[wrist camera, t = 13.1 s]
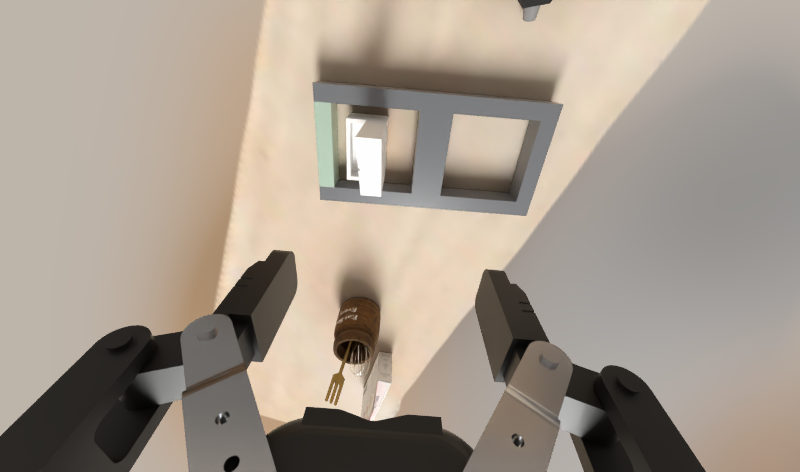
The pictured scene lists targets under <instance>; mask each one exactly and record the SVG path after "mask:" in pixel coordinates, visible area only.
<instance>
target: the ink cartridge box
mask: <svg viewBox="0 0 800 472" xmlns="http://www.w3.org/2000/svg"><path fill="white" fill-rule="evenodd" d="M391 381H392V354H391V353H385V352H379V353H378V356H377V358H376V361H375V363H374V366H373V368H372V371H371V373H370V376H369V378H368V381H367V383H366V385H365V388H364V391H363V401H362V411H361V418H364V419H367V420H372V421H373V420H374V418H375V416H376V414H377V412H378V410H379V408H380V406H381V404H382V401H383V399H384V397H385V395H386V393H387V391H388V389H389V387H390V385H391Z"/></svg>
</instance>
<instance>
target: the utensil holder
mask: <svg viewBox="0 0 800 472" xmlns="http://www.w3.org/2000/svg"><path fill="white" fill-rule="evenodd" d="M379 328H380V310H379V308H378V306H377V305H376V304H375V303H374V302H372V301H371V300H368V299H365V298H353V299H350V300H348V301H346V302H345V303H344V304H343V305H342V307H341V309H340V312H339V315H338V319H337V323H336V326H335V332H334V338H335V341H334V347H333V350H334V354H335V356H336V357H337V358H338V359H339V360H341V361H342V365H341V368H340V371H339V373H337V374H334V375H333V377H332V380H331V383H330V387H329V390H328V393H327V396H326V399H325V401H326V402H327V401H328V398H329V395H330V393H331V390H332V387H333V384H334V382H335V387H334V390H333V393H332V396H331V399H330V403H332V402H333V399H334V396H335V393H336V390H337V387H338V384H339V385H340V386H339V390H338V393H337V396H336V399H335V403H334V405H335V406H336V405H337V402H338V399H339V396H340V393H341V390H342V387H343V383H344V380H345V379H344V377H343V375H342V371H343V368H344V365H345V363H348V364H354V367H353V368H355V364H358V366H359V364H362V363H366V362H367V361H369V360H370V359H371V358H372V356H373V353H374V350H375V345H376V343H377V340H378V336H379ZM352 366H353V365H352ZM364 367H365V365H364ZM369 367H370V365H369ZM363 369H364V368H363ZM368 369H369V368H368ZM350 370H351V369H350ZM354 370H355V369H354ZM355 371H356V370H355ZM362 371H363V370H362V369H361V373H360V371H359V373H358V372H357V373H358V374H359V375H361V376H362V374H363V373H362ZM351 372H352V371H351ZM352 373H353V372H352ZM364 373H365V372H364ZM367 373H368V372H367ZM353 374H354V373H353ZM354 375H355V374H354ZM365 375H366V374H365ZM361 376H360V377H361Z"/></svg>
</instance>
